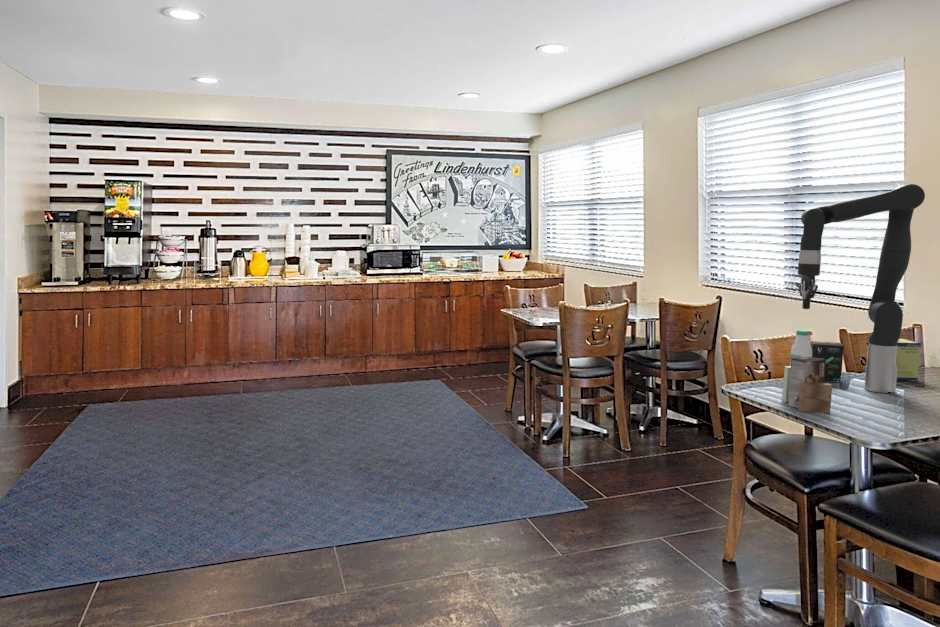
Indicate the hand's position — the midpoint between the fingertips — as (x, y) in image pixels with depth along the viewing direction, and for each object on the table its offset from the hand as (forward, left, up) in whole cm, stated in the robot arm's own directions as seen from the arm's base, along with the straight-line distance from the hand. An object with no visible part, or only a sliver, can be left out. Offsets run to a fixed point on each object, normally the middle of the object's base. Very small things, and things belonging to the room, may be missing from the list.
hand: (805, 308), depth 270 cm
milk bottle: (-2, -6, -29) cm, 30 cm away
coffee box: (+12, +36, -29) cm, 48 cm away
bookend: (+13, +29, -29) cm, 43 cm away
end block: (+12, +42, -29) cm, 52 cm away
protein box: (-43, -19, -29) cm, 55 cm away
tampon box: (-14, -12, -29) cm, 35 cm away
